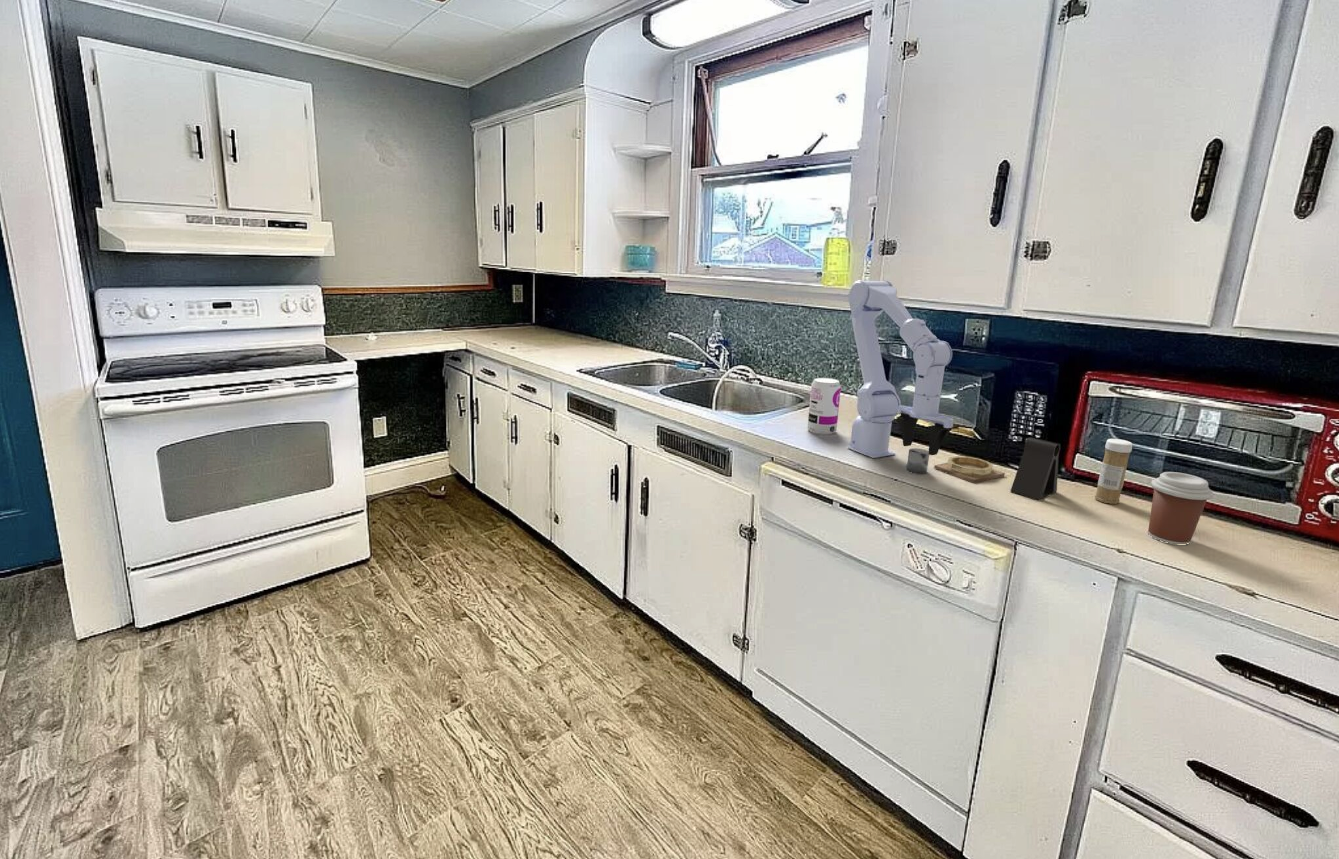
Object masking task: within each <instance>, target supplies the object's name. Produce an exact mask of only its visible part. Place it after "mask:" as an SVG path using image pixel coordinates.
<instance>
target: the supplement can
mask: <svg viewBox="0 0 1339 859" xmlns="http://www.w3.org/2000/svg"><path fill="white" fill-rule="evenodd" d="M810 385H811V387H810V396H809V398H810V399H809V408H808V410H809V411H808V416H807V418H808V419H807V429H808V430H809V432H810V433H812V434H816V435H822V436H823V435H824V436H828V435H833V434H835V433H836V432H837V431H838V430H837V429H838V420H839V411H840V398H841V392H842V391H841V390H842V385H841V384H840V380H838V379H836V378H829V377H816V378H814V379H813V381H812V382H811V384H810Z"/></svg>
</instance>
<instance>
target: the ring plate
mask: <svg viewBox="0 0 1339 859" xmlns="http://www.w3.org/2000/svg"><path fill="white" fill-rule="evenodd" d="M993 467H994V465H993V463H991V462H989V461H988V460H984V459H981V458H978V457H972V456H961V455H959V456H958V455H956V456H951V457H949V458H948V460H947V462H945V463H939V464H935V465H934V466H933V469H934V468H936V469H935V470H937V469H938V470H937V471H940V470H941V472H943V473H945V472H947V473H946V474H948V475H950V474H951V476H954V477H956V478H959V479H962V480H965V481H967V482H970V483H972V484H976V483H980V482H985V481H990V480H993V479H998V478H1003V477H1005V474H1006V473H1005V472H1003V471H1000V470H998V469H994V468H993Z"/></svg>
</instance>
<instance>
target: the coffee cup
mask: <svg viewBox="0 0 1339 859" xmlns="http://www.w3.org/2000/svg"><path fill="white" fill-rule="evenodd" d="M1150 486H1151V488H1153V496H1152V500H1151V501H1152V502H1151V508H1150V515H1149V516H1150V517H1149V523H1148V530H1147V536H1149V535H1150V536H1152V537H1153V538H1156V539H1157V540H1161V541H1163V542H1168V543H1172V544H1187V543H1189V542H1190V543H1191V541H1192V539H1193V536H1194V533H1195V531H1196V528H1197V525H1198V523H1199V521H1200V518H1201V516H1202V514H1203V511H1204V508H1205V505H1206V503H1207V501H1208V500H1211V499H1213V497H1214V492H1213V490H1212V489H1210V487H1209V482H1208V481H1207V480H1206V479H1204V478H1202V477H1199V476H1197V475H1193V474H1189V473H1183V472H1177V471H1176V472H1175V471H1164V472H1162V473H1160V474H1159V477H1157V478H1154V479H1152V480H1151V482H1150ZM1150 536H1149V537H1150ZM1153 538H1152V539H1153ZM1157 540H1156V541H1157ZM1163 542H1162V543H1163ZM1172 544H1171V545H1172Z"/></svg>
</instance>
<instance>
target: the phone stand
mask: <svg viewBox="0 0 1339 859" xmlns="http://www.w3.org/2000/svg"><path fill="white" fill-rule="evenodd" d="M1060 451H1061V444H1060V443H1058V442H1053V441H1049V440H1045V439H1040V438H1037V437H1031V436H1030V437H1027V438H1026V440H1025V443H1024V449H1023V453H1022V456H1021V459H1020V462H1019V465H1018V467H1017V471H1016V473H1015V476H1014V480H1013V482H1012V484H1011V488H1010V491H1009V492H1010V493H1012V494H1013V493H1014V494H1015V495H1016V494H1017V495H1019V496H1022V497H1026V498H1029V499H1033V500H1036V501H1042V500H1043V499H1045V498H1048V497H1050V496H1052V495H1053V494H1056V493H1057V491H1058V477H1059V476H1058V475H1059V474H1058V471H1059V470H1058V469H1059V456H1060V455H1059V454H1060ZM1049 495H1050V496H1049Z"/></svg>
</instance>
